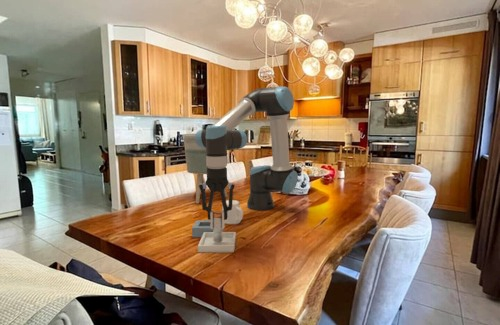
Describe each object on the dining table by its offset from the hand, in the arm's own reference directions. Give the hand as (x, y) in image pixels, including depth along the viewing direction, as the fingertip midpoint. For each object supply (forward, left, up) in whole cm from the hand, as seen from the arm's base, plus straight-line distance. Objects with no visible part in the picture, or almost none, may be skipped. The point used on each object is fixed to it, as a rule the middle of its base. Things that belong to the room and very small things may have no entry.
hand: (217, 227), depth 105 cm
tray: (0, 0, -7) cm, 7 cm away
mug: (-4, -26, -7) cm, 27 cm away
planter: (+15, -68, -7) cm, 70 cm away
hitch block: (+7, -12, -7) cm, 15 cm away
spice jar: (0, 0, -5) cm, 5 cm away
